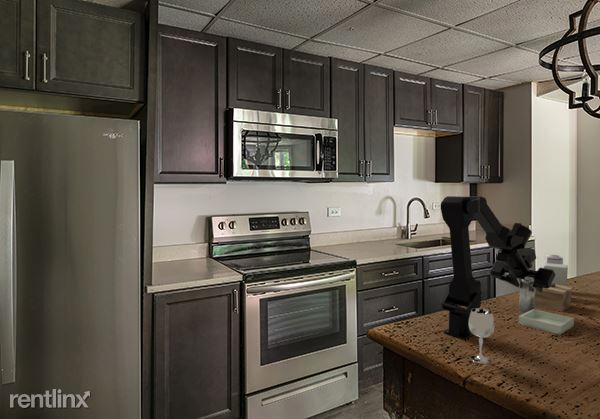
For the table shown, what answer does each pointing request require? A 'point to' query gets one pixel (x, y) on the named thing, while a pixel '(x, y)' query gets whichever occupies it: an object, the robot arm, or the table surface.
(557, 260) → the syrup box
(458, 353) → the table surface
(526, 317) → the tray
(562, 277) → the supplement box
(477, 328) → the wineglass
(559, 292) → the lidded bin
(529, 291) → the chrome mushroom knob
